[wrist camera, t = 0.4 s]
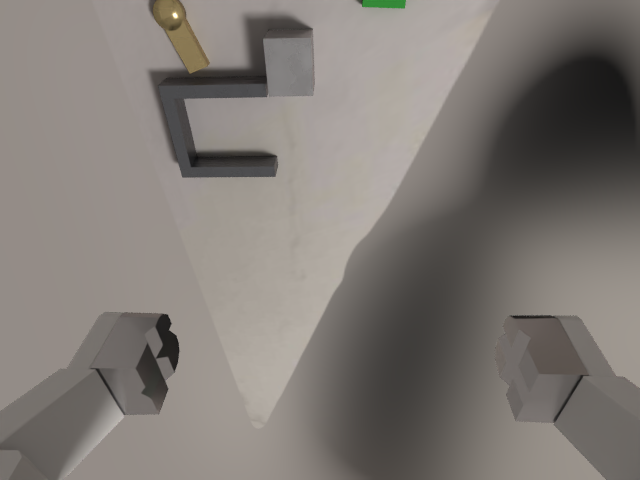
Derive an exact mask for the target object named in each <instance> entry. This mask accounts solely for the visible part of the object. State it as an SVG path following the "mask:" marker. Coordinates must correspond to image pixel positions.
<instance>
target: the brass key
mask: <svg viewBox="0 0 640 480" xmlns="http://www.w3.org/2000/svg"><path fill="white" fill-rule="evenodd" d="M153 15H154V18H155V20H156V22H157V23H158V24H159V25H160V26H161V27H162V28H164V29H165V31H166V33H167V34H168V36H169V38H170V40H171V41H172V43H173V45H174V47H175V48H176V50H177V52H178V54H179V56H180V57H181V59H182V61H183V63H184V64H185V66H186V68H187V70H188V71H189V73H190V74H191V73H193V72H195V71H197V70H200V69H202V68H204V67H207V66H208V65H209V64H210V62H209V61H208V59H207V57H206V55H205V53H204V51H203V49H202V47H201V45H200V44H199V42H198V40H197V38H196V36H195V34H194V32H193V30H192V29H191V27H190V25H189V23H188V21H187V19H186V11H185V8H184V6H183V5H182V3H181V2H180V1H179V0H157V1H156V2H155V4H154V6H153Z"/></svg>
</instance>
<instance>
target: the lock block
mask: <svg viewBox="0 0 640 480" xmlns="http://www.w3.org/2000/svg"><path fill="white" fill-rule="evenodd" d="M263 44H264V54H265V64H266V73H267V83H268V93H269V96H313V92H314V85H315V77H314V48H313V29H282V30H268V31H267V33H266V35H265V36H264V38H263Z"/></svg>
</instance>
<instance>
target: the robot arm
mask: <svg viewBox="0 0 640 480" xmlns="http://www.w3.org/2000/svg"><path fill="white" fill-rule="evenodd" d="M171 324H172V323H171V321H170V318H169V316H168V315H167V314H158V313H128V312H125V313H120V312H119V313H118V312H104V313H103V314H102V315H100V316H99V317H98V318H97V320H96V322H95V323H94V325H93V327H92V328H91V330H90V331H89V333H88V335H87V336H86V338H85V339H84V341H83V343H82V344H81V346H80V348H79V349H78V351H77V353H76V354H75V356H74V357H73V359H72V361H71V362H70V364H69V366H68V367H67V369H60V370H58V371H57V372H55V373H54V374H52V375H51V376H49V377H48V378H47V379H45V380H44V381H42V382H41V383H40V384H38V385H37V386H35V387H34V388H33V389H31V390H30V391H28V392H27V393H26V394H24V395H23V396H21V397H20V398H18V399H17V400H16V401H14V402H13V403H11V404H10V405H8V406H7V407H5V408H4V409H3V410H1V411H0V480H63V479H64V478H65V477H66V476H67V475H68V474H69V473H70V472H71V471H72V470H73V469H74V468H75V467H76V466H77V465H78V464H79V463H80V462H81V461H82V460H83V459H84V458H85V457H86V456H87V455H88V454H89V453H90V452H91V451H92V449H94V447H95V446H96V445H97V444H98V443H99V442H100V441H101V440H102V439H103V438H104V437H105V436H106V435H107V434H108V433H109V432H110V431H111V430H112V429H113V428H114V427H115V426H116V425H117V424H118V423H119V421H121V420H122V419H123V417H124V415H126V414H127V415H129V414H130V415H134V414H159V413H160V410H161V408H162V405H163V402H164V400H165V397H166V394H167V392H168V387H167V384H166V381H165V380H167V379H168V378H169V377H170V376H171V375H172V374H173V373H174V372H175V369H176V367H177V364H178V358H179V342H178V339H177V336H176V335H175V334H174V333H172V332H171V331H170V330H169V329H170V326H171ZM503 328H504V331H505V334H504V335H502V336H501V337H499V338H498V340H497V344H496V347H495V361H496V366H497V370H498V373H499V376H500V378H501V379H503V380H504V381H505V382H506V383H507V384H508V385H509V389H508V391H507V393H506V396H507V399H508V401H509V404H510V407H511V410H512V412H513V415H514V418H515V421H522V422H523V421H524V422H545V423H554V426H555V427H556V428H557V429H558V430H559V431H560V432H561V433H562V434H563V435H564V436H565V437H566V438H567V439H568V440H569V441H570V442H571V443H572V444H573V445H574V447H575V448H576V449H577V450H578V451H579V452H580V453H581V454H582V455H583V456H584V457H585V458H586V459H587V460H588V461H589V462H590V463H591V464H592V465H593V466H594V468H596V470H597V471H598V472H600V474H601V475H602V476H603V477H604V478H605V479H606V480H640V388H639V387H637V386H636V385H635V384H633V383H632V382H630V381H629V380H628V379H626V378H625V377H618V376H616V375H615V373H614V372H613V370H612V368H611V367H610V365H609V364H608V362H607V360H606V359H605V357H604V355H603V354H602V352H601V350H600V349H599V348H598V346H597V344H596V342H595V341H594V339H593V337H592V336H591V334H590V333H589V331H588V330H587V328H586V326H585V325H584V323H583V321H582V320H581V319H580V318H579V317H577V316H551V315H519V316H518V315H515V316H514V315H513V316H512V315H510V316H508V317H507V318H506V319H505V321H504V324H503Z"/></svg>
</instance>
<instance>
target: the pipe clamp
mask: <svg viewBox="0 0 640 480" xmlns="http://www.w3.org/2000/svg"><path fill="white" fill-rule="evenodd" d="M405 2H406V0H362V7H379V8H405Z"/></svg>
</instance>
